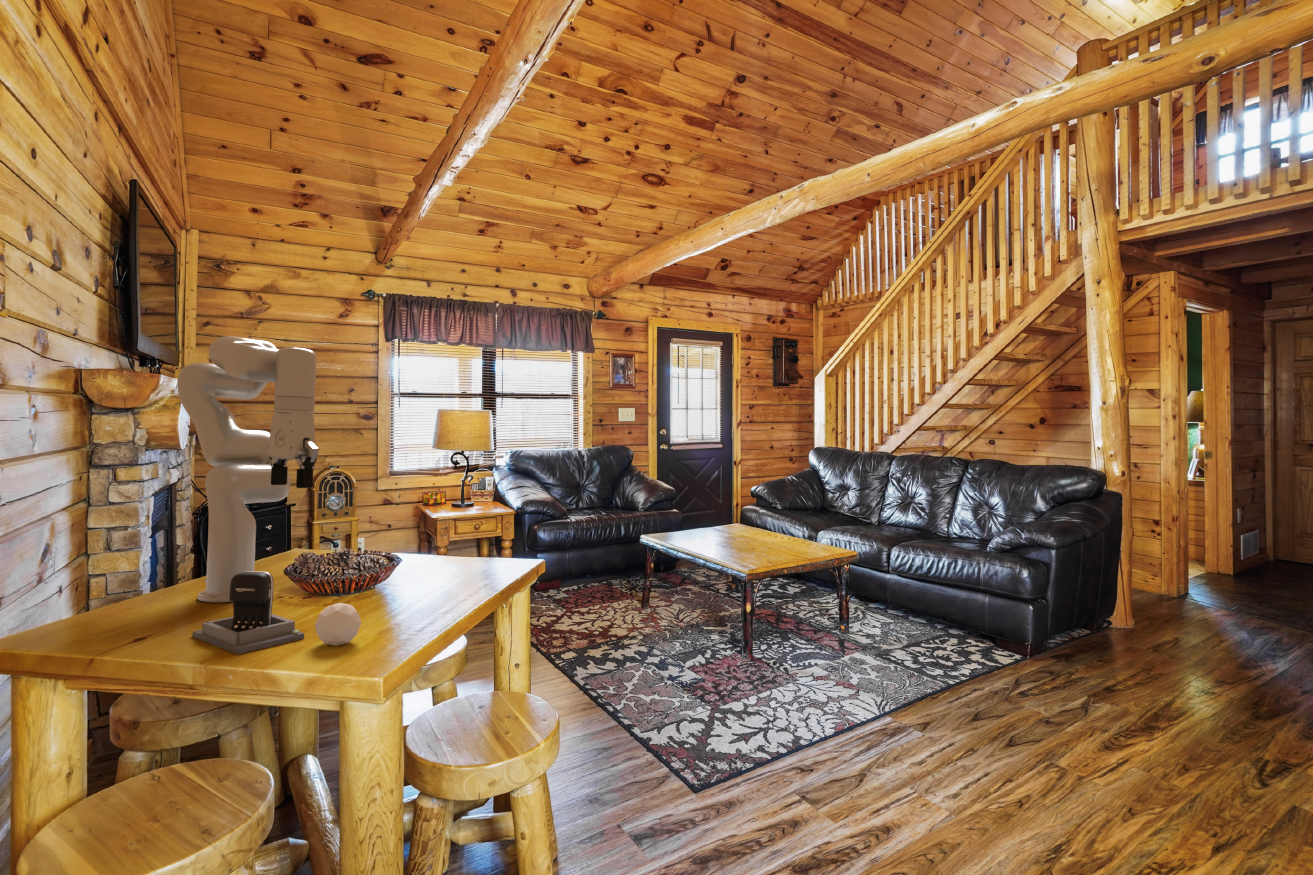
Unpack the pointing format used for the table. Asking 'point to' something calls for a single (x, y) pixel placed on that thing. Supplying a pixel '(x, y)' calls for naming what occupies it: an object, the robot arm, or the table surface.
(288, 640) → the charging dock
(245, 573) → the battery charger
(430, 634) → the table surface
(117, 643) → the table surface
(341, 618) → the geometric ball
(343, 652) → the table surface
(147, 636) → the table surface
